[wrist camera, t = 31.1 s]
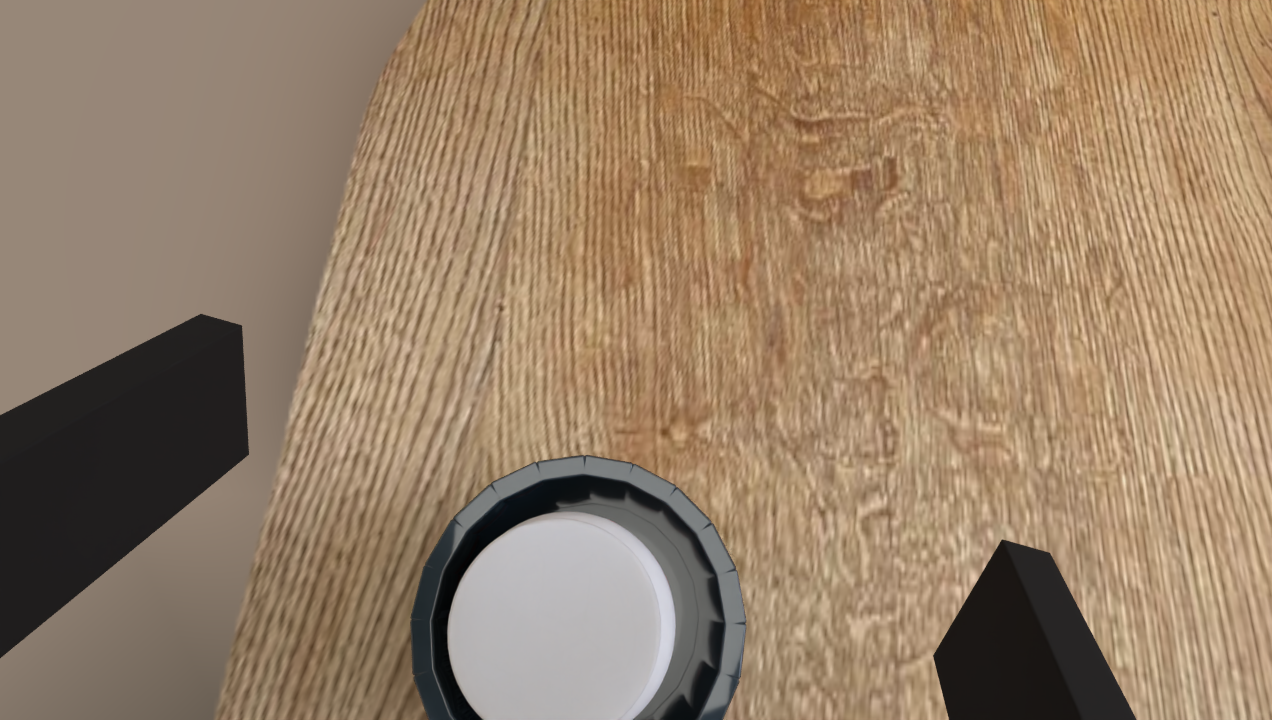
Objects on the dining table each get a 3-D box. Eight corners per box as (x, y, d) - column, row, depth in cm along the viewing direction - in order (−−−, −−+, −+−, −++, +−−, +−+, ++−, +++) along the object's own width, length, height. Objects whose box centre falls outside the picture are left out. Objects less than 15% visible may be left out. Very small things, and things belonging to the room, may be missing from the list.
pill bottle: (680, 558, 25) (716, 536, 16) (637, 727, 24) (649, 816, 14) (528, 513, 26) (476, 466, 16) (475, 676, 24) (381, 730, 14)
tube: (458, 508, 26) (403, 479, 20) (689, 475, 27) (712, 436, 20) (475, 772, 24) (418, 843, 17) (733, 729, 24) (776, 780, 17)
